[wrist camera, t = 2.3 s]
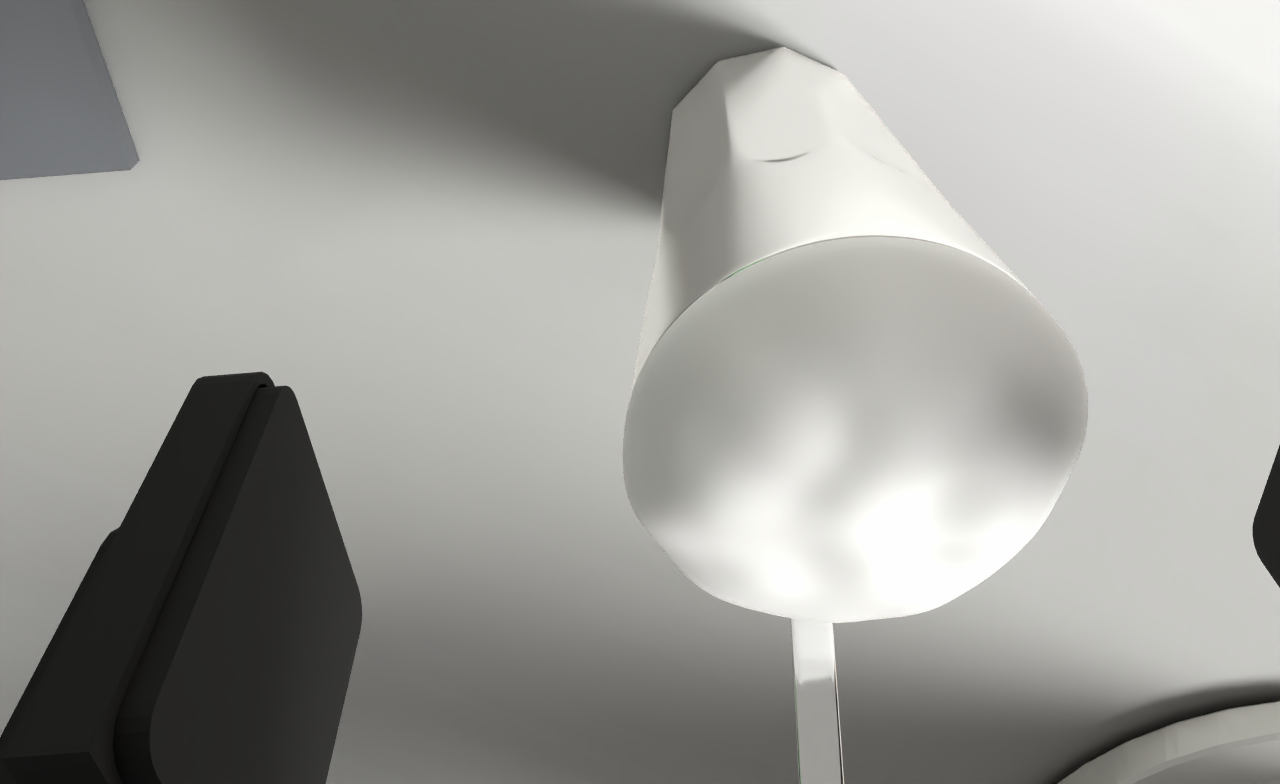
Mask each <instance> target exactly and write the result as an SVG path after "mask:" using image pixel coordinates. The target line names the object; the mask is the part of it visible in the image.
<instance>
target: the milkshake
mask: <svg viewBox="0 0 1280 784" xmlns="http://www.w3.org/2000/svg"><path fill="white" fill-rule="evenodd" d="M1087 419H1088V396H1087V387H1086V382H1085V377H1084V373H1083V369H1082V366H1081V363H1080V360H1079V358H1078V355H1077V353H1076V351H1075V349H1074V347H1073V345H1072V343H1071V342H1070V340H1069V339H1068V337H1067V335H1066V334H1065V332H1064V331H1063V329H1062V328H1061V326H1060V325H1059V324H1058V322H1057V321H1056V320H1055V319H1054V318H1053V316H1052V315H1051V314H1050V313H1049V312H1048V310H1047V309H1046V308H1045V307H1044V306H1043V305H1042V304H1041V303H1040V302H1039V301H1038V300H1037V298H1036V297H1035V296H1034V295H1033V294H1032V293H1031V291H1030V290H1029V289H1028V288H1027V287H1026V286H1025V285H1024V284H1023V283H1022V282H1021V280H1020V279H1019V278H1018V277H1017V276H1016V275H1015V274H1014V273H1013V272H1012V271H1011V270H1010V269H1009V267H1008V266H1007V265H1006V264H1005V263H1004V262H1003V261H1002V260H1001V259H1000V258H999V257H998V256H997V254H996V253H995V252H994V251H993V250H992V249H991V248H990V247H989V246H988V245H987V244H986V243H985V241H984V240H983V239H982V238H981V237H980V236H979V235H978V234H977V233H976V232H975V231H974V230H973V228H972V227H971V226H970V225H969V224H968V223H967V222H966V221H965V220H964V219H963V218H962V216H961V215H960V214H959V213H958V212H957V211H956V210H955V209H954V208H953V207H952V205H951V204H950V203H949V202H948V201H947V200H946V199H945V198H944V196H943V195H942V194H941V193H940V192H939V191H938V189H937V188H936V187H935V186H934V184H933V183H932V182H931V181H930V179H929V178H928V177H927V176H926V174H925V173H924V172H923V171H922V170H921V168H920V167H919V166H918V165H917V163H916V162H915V161H914V160H913V158H912V157H911V156H910V155H909V153H908V152H907V151H906V150H905V148H904V147H903V146H902V145H901V144H900V142H899V141H898V140H897V139H896V137H895V136H894V135H893V134H892V132H891V131H890V130H889V129H888V128H887V126H886V125H885V124H884V123H883V121H882V120H881V119H880V118H879V116H878V115H877V114H876V113H875V112H874V110H873V109H872V108H871V107H870V105H869V104H868V103H867V102H866V101H865V99H864V98H863V97H862V96H861V94H860V93H859V92H858V91H857V89H856V88H855V87H854V86H853V85H852V83H851V82H850V81H849V80H848V79H847V77H846V76H845V75H844V74H843V73H841V72H839V71H836V70H834V69H832V68H830V67H828V66H825V65H823V64H821V63H819V62H816V61H814V60H812V59H810V58H808V57H805V56H803V55H801V54H799V53H797V52H795V51H792V50H790V49H788V48H786V47H779V48H775V49H771V50H766V51H762V52H757V53H753V54H748V55H744V56H739V57H734V58H730V59H725V60H720V61H718V62H717V63H716V64H715V65H714V66H713V67H712V68H711V69H710V70H709V72H708V73H707V74H706V75H705V76H704V77H703V78H702V79H701V80H700V81H699V82H698V83H697V85H696V86H695V87H694V88H693V89H692V90H691V91H690V92H689V93H688V94H687V95H686V96H685V97H684V98H683V99H682V101H681V102H680V103H679V104H678V105H677V106H676V107H675V108H674V109H673V112H672V120H671V129H670V138H669V147H668V155H667V162H666V170H665V178H664V188H663V198H662V209H661V219H660V229H659V239H658V249H657V255H656V260H655V264H654V269H653V273H652V278H651V282H650V287H649V291H648V296H647V301H646V306H645V312H644V317H643V323H642V329H641V334H640V340H639V346H638V352H637V357H636V363H635V369H634V375H633V381H632V387H631V392H630V398H629V405H628V410H627V415H626V422H625V429H624V439H623V470H624V480H625V486H626V490H627V494H628V498H629V500H630V503H631V506H632V508H633V510H634V512H635V514H636V515H637V517H638V519H639V520H640V522H641V523H642V525H643V526H644V527H645V529H646V530H647V531H648V533H649V534H650V535H651V536H652V537H653V539H654V540H655V541H656V542H657V544H658V545H659V546H660V547H661V549H662V550H663V551H664V552H665V553H666V555H667V556H668V557H669V558H670V560H671V561H672V562H673V563H674V564H675V565H676V567H677V568H678V569H679V570H680V571H681V572H682V573H683V574H684V575H685V576H686V577H688V578H689V579H690V580H691V581H692V582H693V583H695V584H696V585H697V586H699V587H700V588H701V589H703V590H704V591H706V592H708V593H709V594H711V595H713V596H715V597H717V598H719V599H721V600H723V601H726V602H729V603H732V604H734V605H737V606H741V607H744V608H748V609H751V610H755V611H759V612H763V613H768V614H772V615H777V616H782V617H786V618H791V637H792V657H793V677H794V697H795V717H796V737H797V757H798V776H799V784H844V774H843V760H842V745H841V731H840V717H839V703H838V689H837V674H836V660H835V646H834V632H833V623H846V622H857V621H865V620H874V619H884V618H894V617H903V616H909V615H915V614H919V613H923V612H927V611H930V610H932V609H935V608H937V607H940V606H942V605H944V604H946V603H948V602H949V601H951V600H953V599H955V598H956V597H958V596H960V595H961V594H963V593H965V592H966V591H968V590H970V589H971V588H973V587H975V586H976V585H978V584H979V583H981V582H982V581H984V580H985V579H987V578H988V577H989V576H991V575H992V574H993V573H995V572H996V571H997V570H998V569H1000V568H1001V567H1002V566H1003V565H1005V564H1006V563H1007V562H1008V561H1009V560H1010V559H1012V558H1013V557H1014V556H1015V555H1016V554H1017V553H1018V552H1019V551H1020V550H1021V549H1022V548H1023V547H1024V546H1025V545H1026V544H1027V543H1028V542H1029V541H1030V540H1031V539H1032V538H1033V536H1034V535H1035V534H1036V533H1037V531H1038V530H1039V529H1040V527H1041V526H1042V525H1043V523H1044V522H1045V520H1046V519H1047V517H1048V515H1049V514H1050V512H1051V510H1052V508H1053V507H1054V505H1055V503H1056V501H1057V499H1058V497H1059V496H1060V494H1061V492H1062V490H1063V488H1064V486H1065V484H1066V482H1067V480H1068V478H1069V476H1070V474H1071V472H1072V470H1073V468H1074V465H1075V463H1076V461H1077V459H1078V456H1079V454H1080V451H1081V448H1082V445H1083V442H1084V438H1085V433H1086V427H1087Z"/></svg>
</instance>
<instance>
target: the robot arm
mask: <svg viewBox="0 0 1280 784" xmlns="http://www.w3.org/2000/svg"><path fill="white" fill-rule="evenodd" d="M1253 540H1254V545H1255V548H1256V551H1257V554H1258V556H1259V558H1260V559H1261V561H1262V563H1263V564H1264V566H1265V567H1266V569H1267V570H1268V571H1269V573H1270V574H1271V576H1272V577H1273V579H1274V580H1275V581H1276V583H1277V584H1278V586H1279V587H1280V446H1279V449H1278V452H1277V454H1276V457H1275V460H1274V463H1273V466H1272V469H1271V472H1270V475H1269V477H1268V480H1267V483H1266V486H1265V489H1264V492H1263V495H1262V498H1261V500H1260V503H1259V506H1258V509H1257V512H1256V515H1255V518H1254V522H1253ZM361 621H362V605H361V597H360V592H359V588H358V585H357V582H356V579H355V576H354V573H353V570H352V567H351V564H350V561H349V558H348V555H347V552H346V549H345V545H344V542H343V539H342V536H341V533H340V530H339V527H338V524H337V521H336V518H335V515H334V512H333V509H332V506H331V503H330V500H329V496H328V493H327V490H326V487H325V484H324V481H323V478H322V475H321V472H320V469H319V466H318V463H317V460H316V457H315V454H314V451H313V447H312V444H311V441H310V438H309V435H308V432H307V429H306V426H305V423H304V420H303V417H302V414H301V411H300V408H299V405H298V402H297V399H296V396H295V394H294V392H293V391H292V389H291V388H290V387H288V386H277V387H275V386H274V383H273V381H272V380H271V378H270V377H269V376H268V375H267V374H266V373H263V372H254V373H242V374H229V375H217V376H205V377H201V378H199V379H197V380H196V382H195V383H194V384H193V386H192V388H191V390H190V392H189V394H188V395H187V397H186V399H185V401H184V403H183V405H182V407H181V409H180V411H179V413H178V415H177V417H176V419H175V421H174V423H173V425H172V427H171V429H170V430H169V432H168V434H167V436H166V438H165V440H164V442H163V444H162V446H161V448H160V450H159V452H158V454H157V456H156V458H155V460H154V462H153V464H152V466H151V467H150V469H149V471H148V473H147V475H146V477H145V479H144V481H143V483H142V485H141V487H140V489H139V491H138V493H137V495H136V497H135V499H134V501H133V502H132V504H131V506H130V508H129V510H128V512H127V514H126V516H125V518H124V520H123V522H122V524H121V526H120V527H119V528H118V529H116V530H114V531H113V532H111V533H110V534H109V535H108V537H107V538H106V539H105V541H104V542H103V543H102V545H101V546H100V548H99V550H98V552H97V554H96V556H95V558H94V560H93V561H92V563H91V565H90V567H89V569H88V571H87V573H86V575H85V577H84V579H83V581H82V582H81V584H80V586H79V588H78V590H77V592H76V594H75V596H74V598H73V600H72V602H71V603H70V605H69V607H68V609H67V611H66V613H65V615H64V617H63V619H62V621H61V623H60V624H59V626H58V628H57V630H56V632H55V634H54V636H53V638H52V640H51V642H50V644H49V645H48V647H47V649H46V651H45V653H44V655H43V657H42V659H41V661H40V663H39V665H38V666H37V668H36V670H35V672H34V674H33V676H32V678H31V680H30V682H29V684H28V686H27V687H26V689H25V691H24V693H23V695H22V697H21V699H20V701H19V703H18V705H17V707H16V708H15V710H14V712H13V714H12V716H11V718H10V720H9V722H8V724H7V726H6V728H5V729H4V731H3V733H2V735H1V737H0V784H325V783H326V779H327V774H328V770H329V766H330V761H331V757H332V752H333V748H334V744H335V739H336V735H337V731H338V726H339V722H340V717H341V713H342V709H343V704H344V700H345V696H346V691H347V687H348V682H349V678H350V674H351V669H352V665H353V660H354V656H355V652H356V647H357V643H358V639H359V634H360V629H361ZM1057 784H1280V701H1276V702H1269V703H1262V704H1256V705H1249V706H1242V707H1235V708H1229V709H1225V710H1221V711H1217V712H1214V713H1210V714H1206V715H1202V716H1198V717H1195V718H1191V719H1187V720H1183V721H1179V722H1176V723H1173V724H1171V725H1168V726H1166V727H1163V728H1160V729H1158V730H1155V731H1153V732H1150V733H1147V734H1145V735H1142V736H1140V737H1137V738H1135V739H1132V740H1129V741H1127V742H1125V743H1123V744H1121V745H1119V746H1118V747H1116V748H1114V749H1112V750H1110V751H1108V752H1106V753H1104V754H1102V755H1101V756H1099V757H1097V758H1095V759H1093V760H1091V761H1089V762H1087V763H1085V764H1084V765H1082V766H1081V767H1080V768H1078V769H1077V770H1075V771H1074V772H1073V773H1071V774H1070V775H1068V776H1067V777H1066V778H1064V779H1063V780H1061V781H1060V782H1059V783H1057Z"/></svg>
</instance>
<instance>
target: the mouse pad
mask: <svg viewBox="0 0 1280 784" xmlns="http://www.w3.org/2000/svg"><path fill="white" fill-rule="evenodd" d="M138 161H139V157H138V154H137V152H136V149H135V146H134V143H133V140H132V138H131V135H130V132H129V129H128V126H127V123H126V121H125V118H124V115H123V112H122V109H121V107H120V104H119V101H118V98H117V95H116V92H115V90H114V87H113V84H112V81H111V78H110V76H109V73H108V70H107V67H106V64H105V61H104V59H103V56H102V53H101V50H100V47H99V44H98V42H97V39H96V36H95V33H94V30H93V28H92V25H91V22H90V19H89V16H88V13H87V11H86V8H85V5H84V2H83V0H0V180H8V179H21V178H33V177H46V176H59V175H72V174H85V173H97V172H110V171H123V170H131V169H132V168H133V166H134V165H135V164H136V163H137V162H138Z"/></svg>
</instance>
